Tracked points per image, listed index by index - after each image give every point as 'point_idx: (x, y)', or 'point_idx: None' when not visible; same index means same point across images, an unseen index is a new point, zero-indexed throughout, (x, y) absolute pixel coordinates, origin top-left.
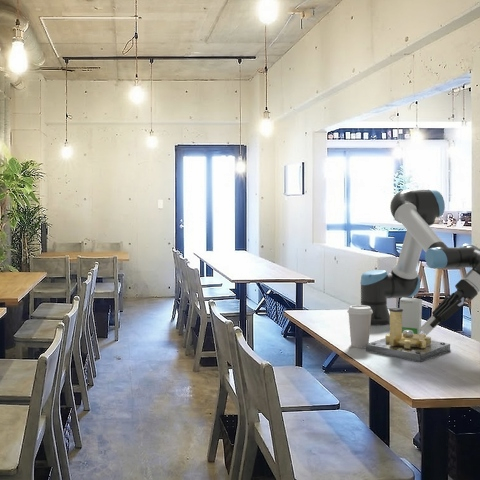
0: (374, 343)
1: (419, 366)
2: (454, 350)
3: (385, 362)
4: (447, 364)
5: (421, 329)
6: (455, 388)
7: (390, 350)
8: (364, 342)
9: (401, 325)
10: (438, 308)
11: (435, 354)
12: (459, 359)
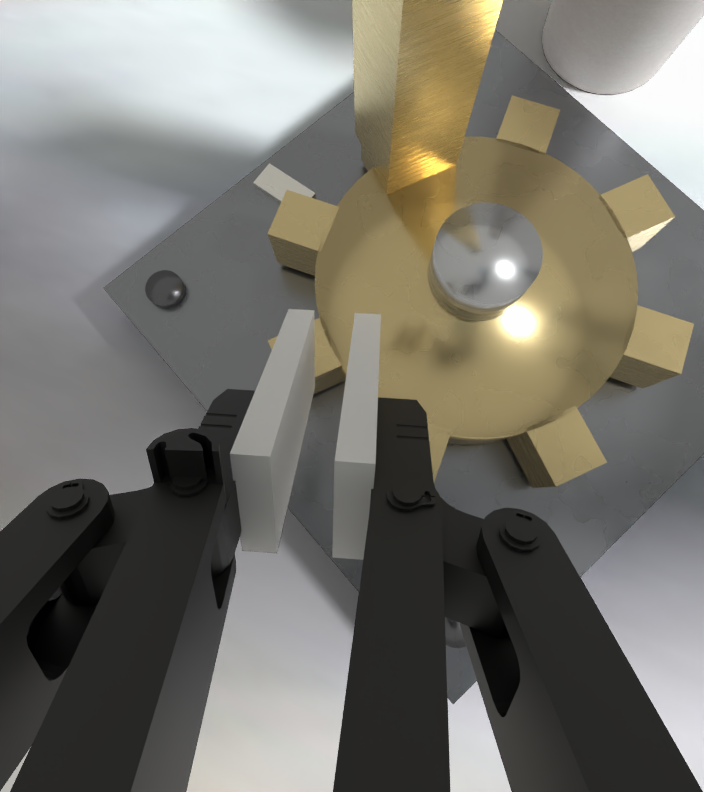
0: None
1: (34, 270)
2: (448, 724)
3: (159, 97)
4: (44, 478)
5: (297, 310)
6: None
7: (305, 138)
8: (557, 24)
9: (394, 93)
10: (540, 693)
11: None
12: None
